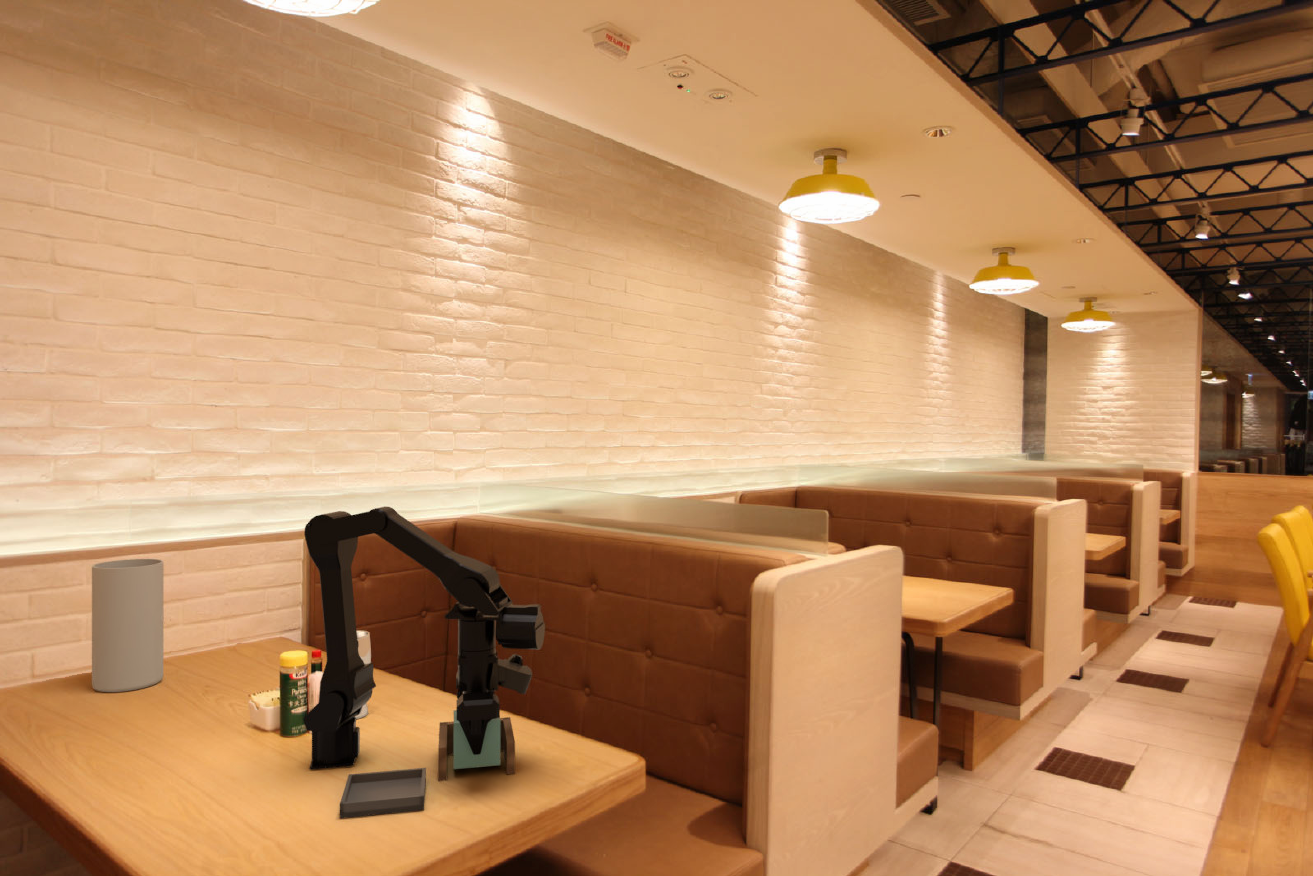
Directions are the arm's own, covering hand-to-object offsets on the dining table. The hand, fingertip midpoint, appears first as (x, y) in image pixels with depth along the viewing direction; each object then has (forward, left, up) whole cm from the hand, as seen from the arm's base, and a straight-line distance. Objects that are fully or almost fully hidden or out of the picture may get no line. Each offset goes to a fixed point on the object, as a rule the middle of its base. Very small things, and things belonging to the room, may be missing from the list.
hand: (476, 746), depth 130 cm
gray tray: (-13, -8, -4) cm, 16 cm away
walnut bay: (0, +2, -4) cm, 4 cm away
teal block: (0, 0, -2) cm, 2 cm away
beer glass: (-22, +30, -4) cm, 37 cm away
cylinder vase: (-69, +60, -4) cm, 92 cm away
